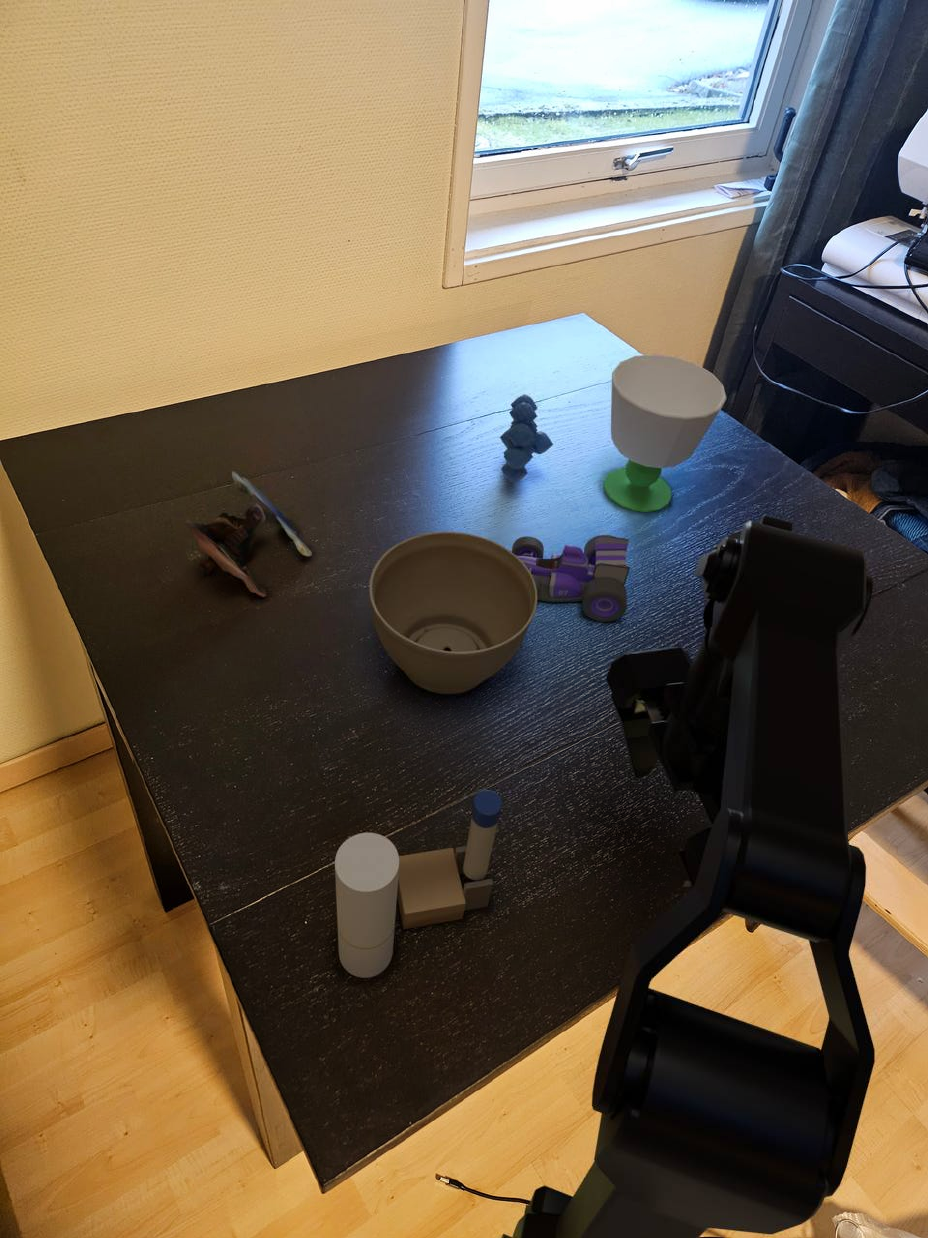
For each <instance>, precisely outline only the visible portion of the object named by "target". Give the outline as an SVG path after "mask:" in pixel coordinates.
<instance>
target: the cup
mask: <svg viewBox="0 0 928 1238" xmlns="http://www.w3.org/2000/svg"><path fill="white" fill-rule="evenodd" d="M610 395H611V397H610V398H611V400H610V436H611V437H610V439H611V441H612V443H613V446H614V447H615V448H616V450H617V451H618V452H619V454H620V455H622V456H623V457H625V458H626V459H628V460H627V462H626V464H625V467H623V468H622V467H621V468H617V469H614V470H613V471H611V472H609V473H608V474H606V476H605V478H604V479H603V491H604V492H605V494H606V495H607V497H608V498H609V499H610V500H611V501H612V502H614V503H615V504H616V505H618V506H619V507H622V508H624V509H628V510H630V511H632V512H642V513H651V512H657V511H660V510H661V509H663V508H665V507H667V506H668V505H669V503H670V502H671V500H672V497H673V496H672V490H671V489H672V488H671V487H670V486H669V485H668V483H667V482H666V481H665V479H663V478H661V476H662V469H666V468H667V469H668V468H674V467H678V466H679V465H681V464H683V463H684V462H686V461H688V460H689V459H690V458H691V457H692V456H693V454H694V453H695V451H696V449H697V448H698V446H699V445H700V443H701V441H702V440H703V439H704V437H705V436H706V433H707V432H708V430H709V429H710V427H711V426H712V424H713V422H714V421H715V419H716V418H717V416H718V415H719V413H720V412H721V410H722V408H723V406H724V404H725V403H726V400H727V395H726V391H725V386H724V384H723V383H722V382H721V381H720V380H719V379H718V378H717V376H715V375H714V374H713V372H711V371H710V370H707V369H705V368H704V367H702V366H701V365H699V364H697V363H695V362H693V361H689V360H686V359H683V358H680V357H677V356H672V355H663V354H656V353H652V354H642V355H641V354H640V355H634V356H631V357H629V358H627V359H625V360H622V361H620V362H619V363H618V364H617V366H615V368H614V369H613V371H611V394H610Z"/></svg>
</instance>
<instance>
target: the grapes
mask: <svg viewBox="0 0 928 1238" xmlns="http://www.w3.org/2000/svg"><path fill="white" fill-rule="evenodd" d="M510 406H511V410H510V411H509V415H510V416H511V418H512V419H513V420H512V421H511V422H510V424H511V425H510V427H509V428H508V429H507V430H505V432H503V433H502V434H501V435H500V436H499V439H500V441H501V442H502V443H503V445H504V447H505V448H506V450H505V451H503V459H504V460H505V462H506V463H505V464H504V465H502V466H501V473H502V474H503V475H504V477H505V478H506V479H507V481H508V482H510V483H513V484H515V483H518V482H520V481H521V480H523V479H524V478H525V477H526V476H527V475H528V474H529V472H528V470H527V468H526V467H525V466H527V464H529V463H530V462H531V459H533V458H534V456H533V454H534V453H535V454H537V455H541V454H544V453H546V452H547V451H548V450H549V449H550V448H551V447H553V445H554V443H553V442H552V440H551V438H550V437H549V435H548V434H547V433H546V432H544V431H541V430H539V431H538V429H537V428H538V427H539V426H538V424H537V423H536V421H535V419H537V418H538V414H537V412H536V411H537V410H538V406H537V405H536V403H535V401H534V400H533V398H532V397H531V396H530V395H527V394H522V395H520V396H518V397H517V398H516V399H515V400H514V401H513V402H511V404H510Z"/></svg>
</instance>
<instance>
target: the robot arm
mask: <svg viewBox="0 0 928 1238" xmlns="http://www.w3.org/2000/svg"><path fill="white" fill-rule="evenodd" d="M867 564H868V563H867V560H866V556H865V555H864V552H863V551H862V550H860V549H857V548H853V547H850V546H846V545H842V544H838V543H835V542H831V541H827V540H824V539H820V538H816V537H812V536H809V535H806V534H802V533H797V532H795V531H793V522H790V521H787V520H782V519H778V518H774V517H771V516H767V515H764V514H763V515H761V518H760V519H759V522H758V521H757V522H756V521H753V520H747V521H746V522H744V523H743V526H742V529H739V530H737V531H734V532H731V533H729V535H725V536H724V537H723V539H722V540H721V541H720V542H718V543H717V545H716V546H714V547H713V549H712V550H710V551H708V552H706V553H705V554H703V555H700V556H699V559H698V562H697V564H696V565H697V566H696V568H695V571H694V574H693V575H694V577H698V578H701V579H702V580H701V585H700V586H701V587H700V588H701V590H702V593H703V595H704V598H705V603H704V609H703V613H702V621H703V626H704V628H705V633H704V635H703V637H702V639H701V642H700V644H699V646H698V648H697V650H696V652H695V653H696V654H695V655H694V657H693V659H692V658H691V656H690V654H689V653H688V652H687V651H686V650H685V649H683V648H682V647H681V646H668V647H660V648H654V649H653V648H652V649H645V650H635V651H629V652H623V653H621V654H620V655H619V656H617V657H615V658H614V660H612V661H611V663H610V666H609V669H608V671H607V675H606V678H605V680H606V681H605V682H606V683H607V685H608V687H609V690H610V693H611V695H610V699H611V702H612V704H613V707H614V710H615V714H616V717H617V720H618V723H619V727H620V731H621V734H622V738H623V740H624V744H625V748H626V751H627V755H628V758H629V761H630V765H631V769H632V773H633V776H634V777H635V778H645V777H647V776H649V775H650V774H651V772H652V771H653V770H654V768H655V767H656V765H657V763H658V761H660V763H661V766H662V767H663V770H664V772H665V774H666V776H667V779H668V781H669V783H670V785H671V788H672V789H673V792H674V793H679V792H686V791H691V792H692V793H694V794H697V795H698V797H699V800H700V802H701V804H702V806H703V807H704V810H705V812H706V815H707V816H708V819H709V821H710V823H711V825H712V826H711V827H706V828H704V829H702V830H701V831H699V832H697V833H695V834H693V835H691V836H690V837H688V838H687V840H686V842H685V843H684V845H683V849H680V850H678V852H677V863H678V864H677V865H678V881H679V885H680V887H681V888H688V887H691V889H689V891H687V893H685V894H684V895H683V896H682V897H681V898H679V900H678V901H677V902H676V903H675V904H673V905H672V907H670V908H669V909H668V910H667V911H666V912H665V913H664V914H663V915H662V916H660V918H659V919H657V920H656V921H655V922H654V923H653V924H652V925H651V926H650V927H649V928H648V929H646V931H644V932H643V934H641V935H640V936H639V937H638V938H637V939H635V940H634V941H633V944H632V945H631V947H630V948H629V950H628V954H627V957H626V959H625V964H624V967H623V971H622V975H621V978H620V982H619V985H618V988H617V991H616V996H615V1000H614V1002H613V1006H612V1009H611V1012H610V1016H609V1019H608V1022H607V1027H606V1030H605V1034H604V1037H603V1040H602V1044H601V1048H600V1052H599V1055H598V1060H597V1064H596V1069H595V1075H594V1079H593V1086H592V1094H591V1107H592V1110H593V1111H595V1112H598V1113H600V1114H601V1115H600V1121H599V1127H598V1132H597V1133H598V1134H597V1140H596V1146H595V1151H594V1158H593V1162H592V1164H591V1166H590V1167H589V1169H588V1171H587V1173H586V1174H585V1176H584V1177H583V1178H582V1181H581V1183H580V1184H579V1185H578V1187H577V1189H576V1190H575V1192H574V1194H573V1195H570V1194H568V1193H565V1192H563V1191H560V1190H557V1189H555V1188H553V1187H550V1186H548V1185H542V1186H540V1187H537V1188H536V1189H535V1190H534V1192H533V1194H532V1196H531V1199H530V1201H529V1203H528V1204H526V1205H525V1208H524V1214H523V1216H521V1218H519V1220H518V1221H517V1223H516V1225H515V1228H514V1229H513V1230H514V1231H513V1233H512V1236H511V1235H508V1234H506V1233H502V1235H501V1237H500V1238H700V1237H701V1236H702V1235H703V1234H704V1233H705V1232H706V1231H707V1230H708V1229H715V1230H724V1231H733V1232H744V1233H752V1234H761V1235H775V1234H777V1233H778V1234H779V1233H781V1232H784V1231H786V1230H789V1229H792V1228H794V1227H798V1226H801V1225H802V1224H804V1223H806V1222H807V1221H809V1220H810V1219H811V1218H812V1217H814V1216H815V1215H816V1214H817V1212H818V1211H819V1209H820V1208H821V1207H822V1205H823V1203H824V1201H825V1198H829V1197H833V1195H834V1194H835V1193H836V1191H837V1190H838V1189H839V1187H840V1186H841V1185H842V1182H843V1178H844V1176H845V1173H846V1170H847V1167H848V1164H849V1160H850V1156H851V1152H852V1148H853V1144H854V1142H855V1137H856V1134H857V1130H858V1126H859V1122H860V1119H861V1115H862V1111H863V1108H864V1104H865V1100H866V1097H867V1096H866V1095H867V1092H868V1088H869V1086H870V1085H869V1084H870V1081H871V1077H872V1073H873V1069H874V1065H875V1063H876V1059H875V1058H876V1056H875V1055H876V1054H875V1053H876V1052H875V1051H876V1050H875V1046H874V1042H873V1038H872V1035H871V1031H870V1027H869V1023H868V1020H867V1016H866V1013H865V1009H864V1005H863V1002H862V998H861V994H860V990H859V987H858V983H857V980H856V976H855V972H854V967H853V965H852V962H851V958H850V950H851V946H852V942H853V938H854V935H855V931H856V928H857V924H858V920H859V917H860V913H861V909H862V905H863V900H864V896H865V890H866V885H867V864H866V859H865V854H864V853H863V851H862V850H861V849H860V847H858V846H855V845H852V844H850V841H849V829H848V810H847V809H848V808H847V807H848V806H847V789H846V770H845V749H844V747H845V746H844V729H843V708H842V707H843V705H842V691H841V690H842V688H841V687H842V685H841V665H840V655H841V653H842V651H843V649H844V648H845V646H846V644H847V642H848V641H849V640H851V639H852V638H853V637H854V636H855V635H856V634H857V632H859V629H860V628H861V626H862V624H863V622H864V621H865V618H866V615H867V613H868V610H869V606H870V604H871V599H872V595H873V589H874V582H873V581H874V580H873V577H872V575H871V574H867V573H868V570H867V569H868V568H867V567H868V566H867ZM722 912H724V913H727V914H730V915H733V916H735V917H739V918H742V919H745V920H747V921H749V922H753V923H756V924H759V925H762V926H766V927H769V928H771V929H775V930H777V931H780V932H782V933H786V934H789V935H792V936H795V937H798V938H801V939H804V940H807V941H808V943H809V947H810V950H811V954H812V958H813V962H814V965H815V970H816V973H817V976H818V981H819V985H820V988H821V993H822V996H823V1000H824V1003H825V1007H826V1011H827V1015H828V1021H827V1024H826V1028H825V1032H824V1036H823V1040H822V1043H821V1047H817V1046H814V1045H811V1044H808V1043H805V1042H803V1041H801V1040H798V1039H795V1038H792V1037H790V1036H786V1035H783V1034H781V1033H778V1032H775V1031H772V1030H769V1029H766V1028H764V1027H760V1026H758V1025H755V1024H753V1023H749V1022H747V1021H744V1020H741V1019H739V1018H735V1017H733V1016H729V1015H727V1014H724V1013H722V1012H718V1011H716V1010H713V1009H710V1008H707V1007H704V1006H702V1005H698V1004H695V1003H693V1002H690V1001H688V1000H684V999H682V998H679V997H676V996H674V995H670V994H668V993H665V992H662V991H659V990H656V989H653V988H650V984H651V982H652V980H653V979H654V978H655V977H656V976H657V975H658V974H660V973H661V971H662V970H664V969H665V968H666V967H667V966H668V965H669V964H670V963H672V962H673V960H674V959H676V958H677V957H678V956H679V955H680V954H681V953H682V952H683V951H684V950H685V949H687V948H688V947H689V945H691V944H692V943H693V942H694V941H695V940H696V939H697V938H698V937H700V936H701V935H702V934H703V933H704V932H705V931H706V930H707V929H708V928H709V927H711V925H713V924H714V922H716V921H717V920H718V919H719V917H720V915H721V914H722Z"/></svg>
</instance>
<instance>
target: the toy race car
mask: <svg viewBox="0 0 928 1238" xmlns="http://www.w3.org/2000/svg"><path fill="white" fill-rule="evenodd" d="M629 542H630V539H629V538H625V537H624V538H623V537H617V536H614V535H611V534H599V535H596V536H593V537H592V538H590V539H589V540H587V542H586V543H585V545H584V548H583V549H582V547H580V546H576V545H571V544H565V545H564V547H563V549H562V552H561V553H557V554H556V553H554V554H553V553H552V554H551V558H544V553H545V547H544V544H543V542H542V541H541V540H540V539H538V538H536V537H534V536H531V535H530V536H529V535H526V536H520V537H518V538H517V539H516V540H514V542H513V544H512V548H511V552H512V553H513V554H514V555H516V556H517V557H518V558H519V559H520V560H521V561H522V562H523V563H524V564H525V566H526V567H527V568H528V570H529V571H530V573H531V575H532V577H533V579H534V581H535V585H536V589H537V601H540V602H541V601H542V602H550V603H567V602H582V603H581V605H582V606H581V607H582V611H583V613H584V614H585V616H586V617H588V618H590V619H591V620H593V621H595V622H601V623H602V622H603V623H607V622H613V621H616V620H618V619H621V617H623V615H624V614H625V613H626V611H627V608H628V607H627V606H628V594H627V589H626V587H625V585H626V581H627V579H628V576H629V572H630V569H631V567H630V566H628V565H627V551H628V545H629Z"/></svg>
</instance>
